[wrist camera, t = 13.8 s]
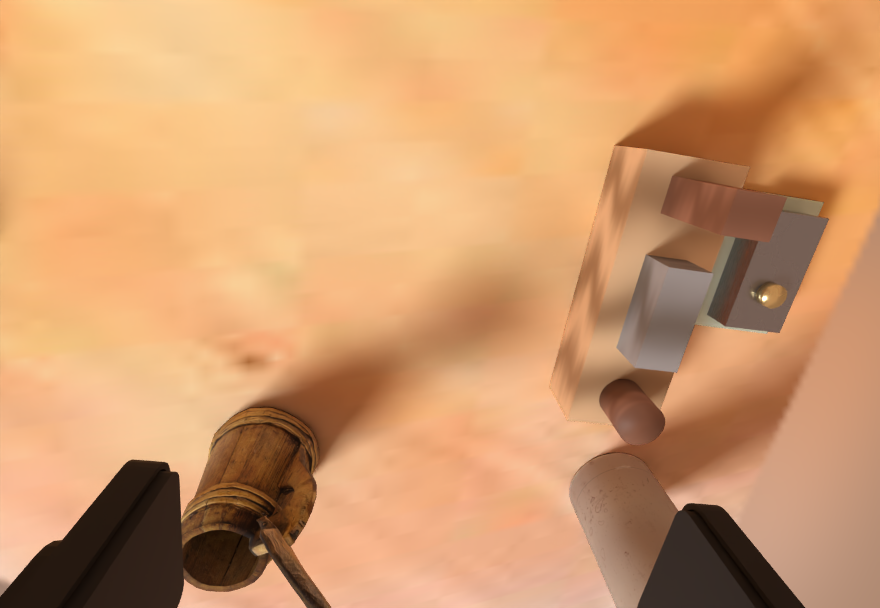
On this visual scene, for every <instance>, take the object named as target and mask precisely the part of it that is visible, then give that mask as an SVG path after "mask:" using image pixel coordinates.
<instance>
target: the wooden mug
mask: <svg viewBox="0 0 880 608" xmlns="http://www.w3.org/2000/svg"><path fill="white" fill-rule="evenodd" d="M318 461H319V447H318V444H317V441H316V439H315V437H314V435H313V433H312V432H311V430H310V429H309V428H308V427H307V426H306V425H305V424H303V423H302V422H301V421H300V420H298V419H297V418H295V417H293V416H292V415H290V414H288V413H286V412H284V411H281V410H277V409H274V408H250V409H247V410H245V411H243V412H240V413H238V414H236V415H235V416H233V417H231V418H230V419H229V420H228V421H227V422H226V423H225V424H224V425H223V426H222V427H221V428H220V429H219V430H218V431H217V432H216V433H215V434H214V437H213V440H212V443H211V446H210V449H209V456H208V462H207V465H206V467H205V470H204V473H203V476H202V478H201V481H200V484H199V487H198V489H197V492H196V495H195V497H194V499H192V500H191V501H190V502H189V503H188V505H187V507H186V509H185V511H184V513H183V516H182V518H181V528H182V550H183V573H184V579H185V580H186V581H187V582H188V583H190V584H192V585H193V586H195V587H196V588H199V589H202V590H206V591H216V592H229V591H233V590H237V589H240V588H243V587H246V586H248V585H250V584H252V583H253V582H255V581H256V580H257V579H258V578H259V577H260V576H261V575H262V573H263V571H264V570H265V568H266V566H267V565H268V563H269V562H270V561H271V560H272V559H273V560H274V562H275V563H276V565H277V566H278V567H279V569H280V570H281V572H282V573H283V574H284V576H285V577H286V579H287V580H288V582H289V583H290V585H291V586H292V588H293V589H294V590H295V592H296V593H297V594H298V596H299V597H300V598H301V600H302V601H303V602H304V604H305V605H306V607H307V608H331V606H330V605H329V603H328V602H327V601H326V599H325V598H324V596H323V595H322V593H321V592H320V591H319V589H318V588H317V587H316V585H315V584H314V582H313V581H312V580H311V578H310V577H309V575H308V574H307V573H306V571H305V570H304V568H303V567H302V565H301V564H300V562H299V560H298V559H297V557H296V555H295V553H294V552H293V550H292V548H291V547H290V546H291V545H292V544H293V543H294V542H295V540H296V539H297V537H298V536H299V534H300V533H301V531H302V530H303V528H304V527H305V525H306V523H307V521H308V519H309V517H310V514H311V512H312V510H313V506H314V503H315V500H316V490H317V485H316V482H315V480H314V478H313V476H312V475H313V472H314V470H315V468H316V466H317V463H318Z"/></svg>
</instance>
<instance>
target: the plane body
mask: <svg viewBox="0 0 880 608" xmlns="http://www.w3.org/2000/svg"><path fill="white" fill-rule="evenodd" d="M749 169H750V167H749V166H743V165H737V164H731V163H726V162H720V161H714V160H708V159H702V158H696V157H690V156H685V155H679V154H673V153H667V152H661V151H655V150H650V149H642V148H633V147H625V146H616V145H615V146H614V150H613V153H612V157H611V161H610V164H609V168H608V172H607V175H606V179H605V183H604V187H603V190H602V194H601V198H600V201H599V205H598V209H597V212H596V216H595V220H594V223H593V227H592V231H591V235H590V238H589V242H588V246H587V249H586V253H585V257H584V260H583V264H582V268H581V271H580V275H579V279H578V283H577V286H576V290H575V294H574V297H573V301H572V305H571V308H570V312H569V316H568V319H567V323H566V327H565V331H564V334H563V338H562V342H561V345H560V349H559V353H558V356H557V360H556V364H555V367H554V371H553V375H552V379H551V382H550V386H549V387H550V389H551V391H552V393H553V395H554V397H555V399H556V400H557V402H558V404H559V406H560V408H561V410H562V412H563V413H564V415H565V417H566V419H567V421H574V422H584V423H594V424H604V425H613V426H614V427H615V429H616V430H617V432H618V433H619V435H620V436H621V438H622V439H623V440H624V441H625V442H627V443H629V444H632V445H643V444H647V443H649V442H651V441H653V440H655V439H656V438H657V437H658V436H659V435H660V434H661V432H662V431H663V429H664V426H665V418H664V415H663V413H662V412H661V411H660V409H661V407H662V404H663V401H664V398H665V396H666V393H667V390H668V388H669V385H670V382H671V380H672V377H673V374H674V372H676V373H677V371H678V368H679V365H680V363H681V360H682V357H683V355H684V352H685V349H686V347H687V344H688V341H689V339H690V336H691V333H692V331H693V328H694V325H695V323H696V320H697V317H698V315H699V312H700V309H701V306H702V304H703V301H704V298H705V296H706V293H707V290H708V288H709V285H710V282H711V280H712V277H713V274H714V273H712V269H713V266H714V264H715V261H716V258H717V256H718V253H719V250H720V248H721V245H722V242H723V239H724V237H725V236H729V237H736V238H742V239H749V240H756V241H762V242H769V241H770V239H771V237H772V234H773V232H774V229H775V227H776V224H777V222H778V219H779V217H780V214H781V212H782V209H783V207H784V204H785V202H786V200H787V197H783V196H778V195H773V194H768V193H763V192H758V191H753V190H748V189H743V186H744V183H745V180H746V177H747V175H748V172H749Z"/></svg>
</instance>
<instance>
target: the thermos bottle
mask: <svg viewBox="0 0 880 608" xmlns="http://www.w3.org/2000/svg"><path fill="white" fill-rule="evenodd" d="M569 495H570V500H571V503H572V505H573V508H574V510H575V513H576V515H577V517H578V520H579V522H580V524H581V526H582V528H583V531H584V533H585V535H586V537H587V540H588V542H589V545H590V547H591V549H592V552H593V554H594V556H595V559H596V561H597V563H598V566H599V568H600V570H601V573H602V575H603V577H604V580H605V582H606V584H607V586H608V589H609V591H610V593H611V596H612V598H613V600H614V603H615V605H616V607H617V608H637V606H638V603H639V600H640V598H641V596H642V593H643V591H644V588H645V586H646V584H647V581H648V579H649V577H650V574H651V572H652V569H653V567H654V565H655V562H656V560H657V558H658V555H659V553H660V550H661V548H662V546H663V543H664V541H665V539H666V536H667V534H668V531H669V529H670V527H671V524H672V522H673V519H674V517H675V515H676V513H677V512H678V510H677V508H676V507H675V505H674V504H673V502H672V501H671V500H670V498H669V497H668V495H667V494H666V492H665V491H664V489H663V488H662V487H661V485H660V484H659V482H658V481H657V479H656V478H655V477H654V475H653V474H652V472H651V471H650V469H649V468H648V467H647V465H646V464H645V463H644V462H643V461H642V460H640V459H639V458H637V457H635V456H633V455H629V454H625V453H610V454H605V455H602V456H599V457H597V458H594V459H592V460H591V461H589V462H587V463H586V464H585V465H584V466H582V467H581V468H580V469H579V470H578V472H577V473H576V474H575V476H574V478H573V479H572V481H571V485H570V493H569Z"/></svg>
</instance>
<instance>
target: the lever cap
mask: <svg viewBox="0 0 880 608" xmlns="http://www.w3.org/2000/svg"><path fill="white" fill-rule="evenodd" d="M828 220H829V219H828V218H823V217H819V216H815V215H810V214H806V213H801V212H794V211H788V210H782V212H781V214H780V217H779V219H778V222H777V224H776V227H775V229H774V232H773V234H772V237H771V239H770V241H769V242H762V241H756V240H749V239H742V238H735V240H734V243H733V246H732V248H731V251H730V254H729V256H728V259H727V262H726V264H725V267H724V270H723V273H722V275H721V278H720V281H719V283H718V286H717V289H716V291H715V294H714V297H713V299H712V302H711V305H710V308H709V310H708V313H707V315H708V316H710V317H711V318H713V319H714V320H716V321H717V322H719V323H721V324H722V325H724V326H725V327H734V328H742V329H751V330H759V331H767V332H776V333H780V330H781V328H782V326H783V324H784V321H785V319H786V317H787V314H788V312H789V310H790V307H791V305H792V303H793V301H794V298H795V296H796V294H797V291H798V289H799V287H800V284H801V282H802V280H803V278H804V275H805V273H806V271H807V268H808V266H809V264H810V261H811V259H812V257H813V255H814V252H815V250H816V248H817V245H818V243H819V241H820V239H821V236H822V234H823V232H824V229H825V227H826V225H827V222H828Z"/></svg>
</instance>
